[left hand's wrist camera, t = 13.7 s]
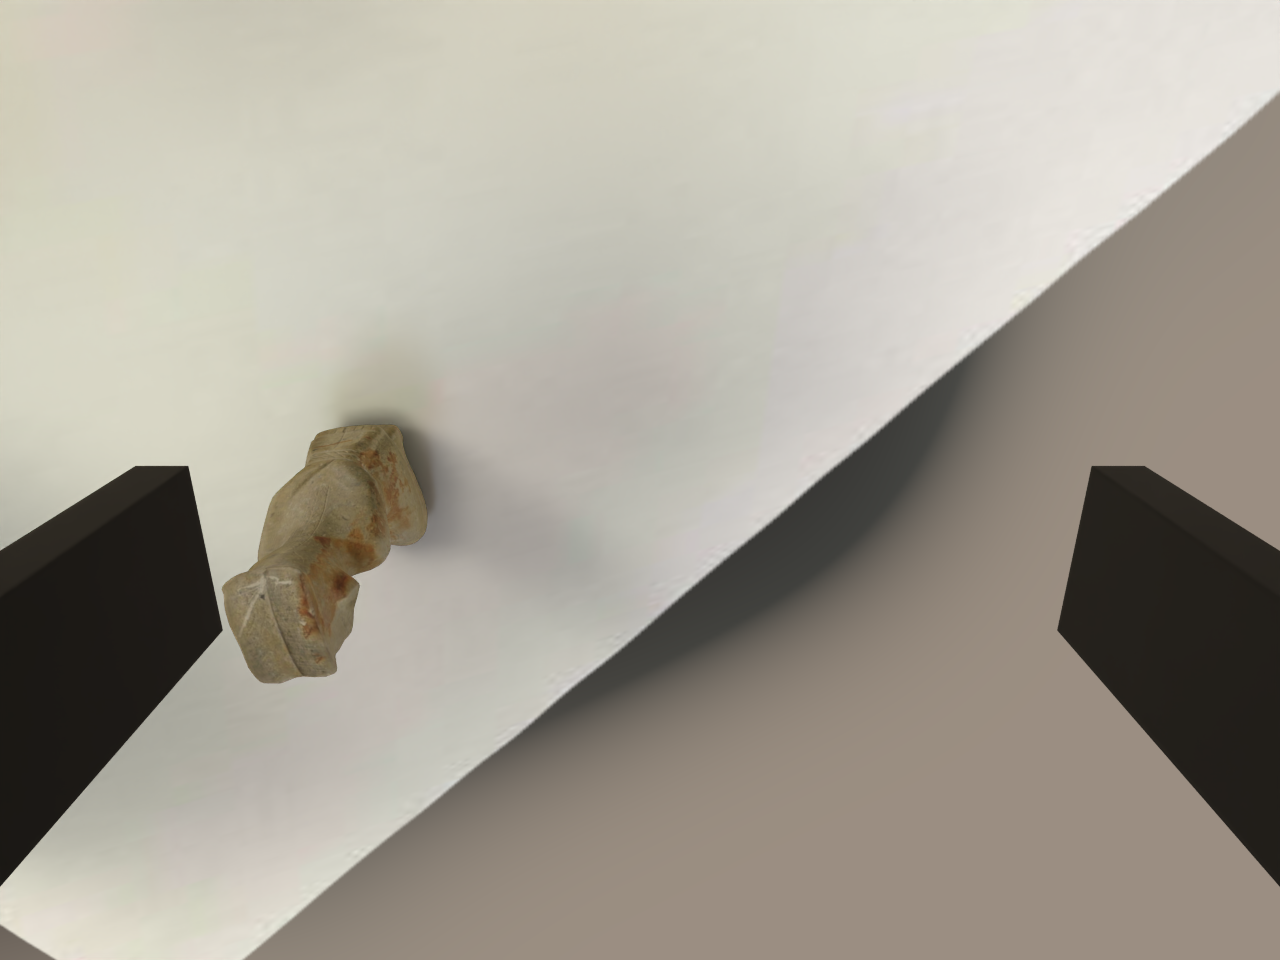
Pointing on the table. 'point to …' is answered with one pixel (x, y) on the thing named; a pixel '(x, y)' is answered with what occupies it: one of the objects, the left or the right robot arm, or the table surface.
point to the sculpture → (323, 550)
